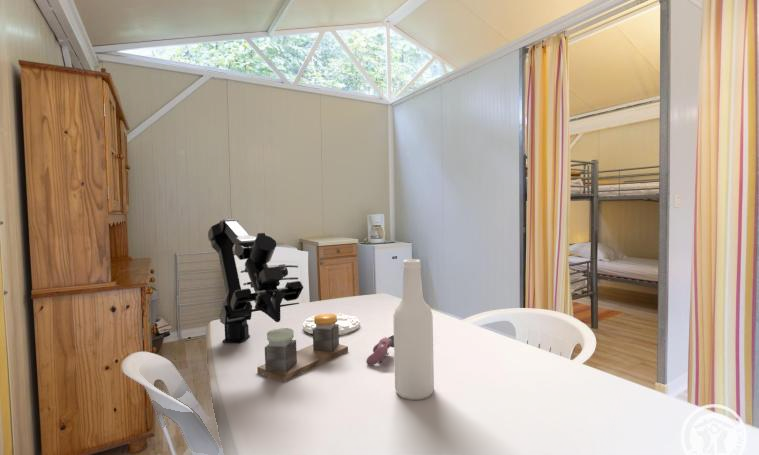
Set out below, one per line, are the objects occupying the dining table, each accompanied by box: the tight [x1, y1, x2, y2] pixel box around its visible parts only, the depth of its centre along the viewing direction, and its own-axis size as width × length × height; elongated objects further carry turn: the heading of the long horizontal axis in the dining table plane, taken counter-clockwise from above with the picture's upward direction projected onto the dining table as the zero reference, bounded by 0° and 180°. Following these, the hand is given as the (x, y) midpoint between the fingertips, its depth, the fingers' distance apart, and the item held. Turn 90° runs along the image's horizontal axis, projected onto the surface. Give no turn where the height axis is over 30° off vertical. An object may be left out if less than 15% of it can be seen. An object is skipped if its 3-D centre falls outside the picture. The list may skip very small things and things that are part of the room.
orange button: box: [314, 313, 338, 330], centre depth 112 cm, size 7×7×8 cm
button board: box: [257, 324, 349, 383], centre depth 105 cm, size 10×25×8 cm, turn 143°
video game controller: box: [365, 336, 392, 366], centre depth 106 cm, size 10×5×7 cm, turn 169°
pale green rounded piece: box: [266, 327, 295, 347], centre depth 98 cm, size 7×7×8 cm
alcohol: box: [392, 258, 435, 401], centre depth 86 cm, size 9×9×30 cm
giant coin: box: [302, 312, 361, 336], centre depth 136 cm, size 20×20×3 cm
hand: (278, 321), depth 99 cm, fingers closed
